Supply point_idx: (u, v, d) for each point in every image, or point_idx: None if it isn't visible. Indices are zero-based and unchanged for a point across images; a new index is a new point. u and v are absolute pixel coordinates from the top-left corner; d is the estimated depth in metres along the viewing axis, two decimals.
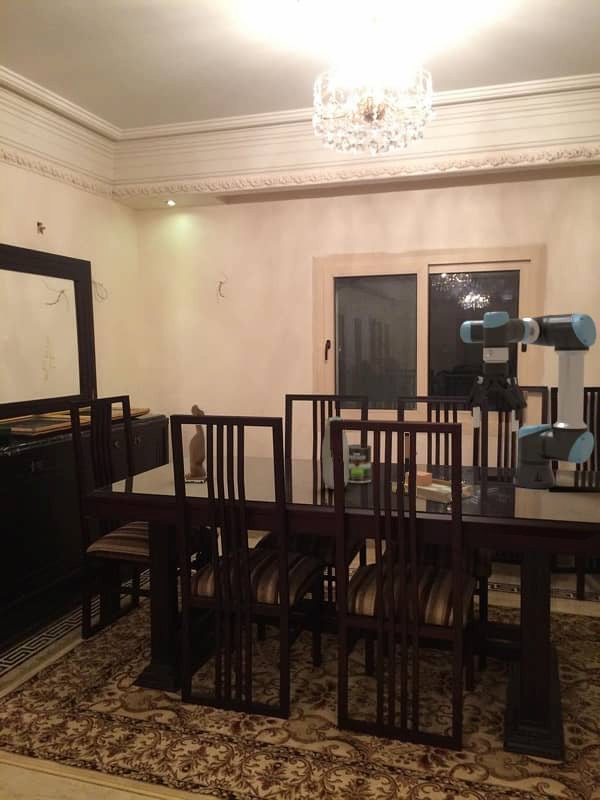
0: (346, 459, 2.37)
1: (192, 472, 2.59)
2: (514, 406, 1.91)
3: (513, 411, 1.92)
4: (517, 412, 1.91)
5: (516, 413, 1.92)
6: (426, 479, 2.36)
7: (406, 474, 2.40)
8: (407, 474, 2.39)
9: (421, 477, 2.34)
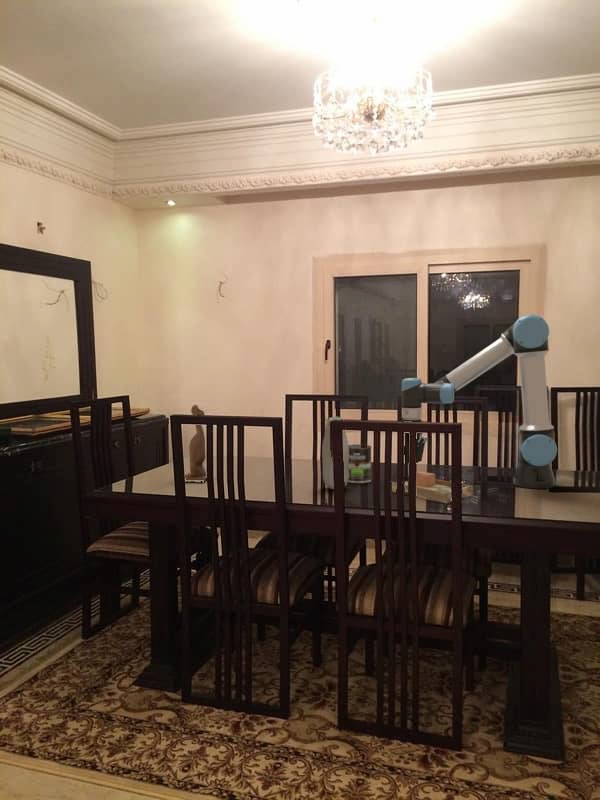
0: (346, 459, 2.37)
1: (192, 472, 2.59)
2: None
3: None
4: None
5: None
6: (429, 480, 2.35)
7: None
8: None
9: (424, 477, 2.33)
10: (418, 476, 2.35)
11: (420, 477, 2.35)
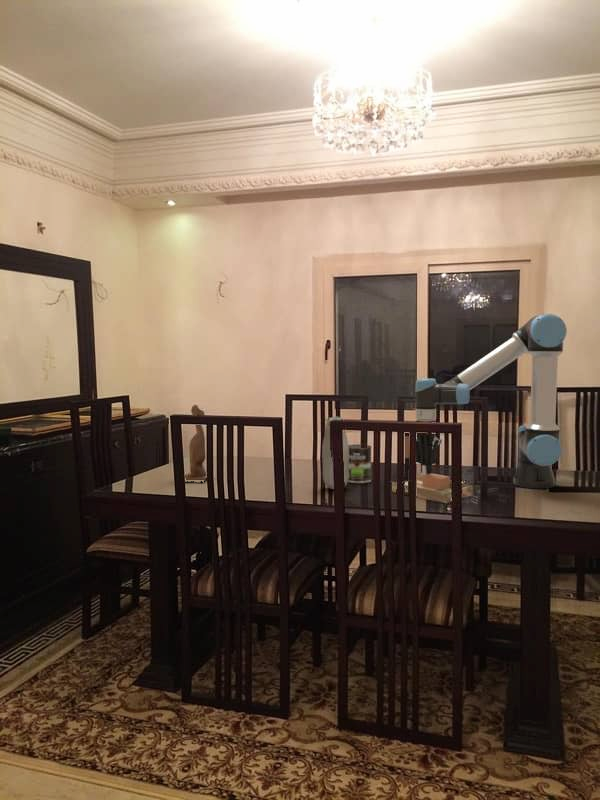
0: (346, 459, 2.37)
1: (192, 472, 2.59)
2: (426, 462, 2.34)
3: (424, 466, 2.35)
4: (428, 467, 2.35)
5: (427, 468, 2.35)
6: (444, 482, 2.30)
7: (423, 477, 2.33)
8: (424, 477, 2.33)
9: (439, 480, 2.28)
10: (432, 479, 2.30)
11: (435, 480, 2.30)
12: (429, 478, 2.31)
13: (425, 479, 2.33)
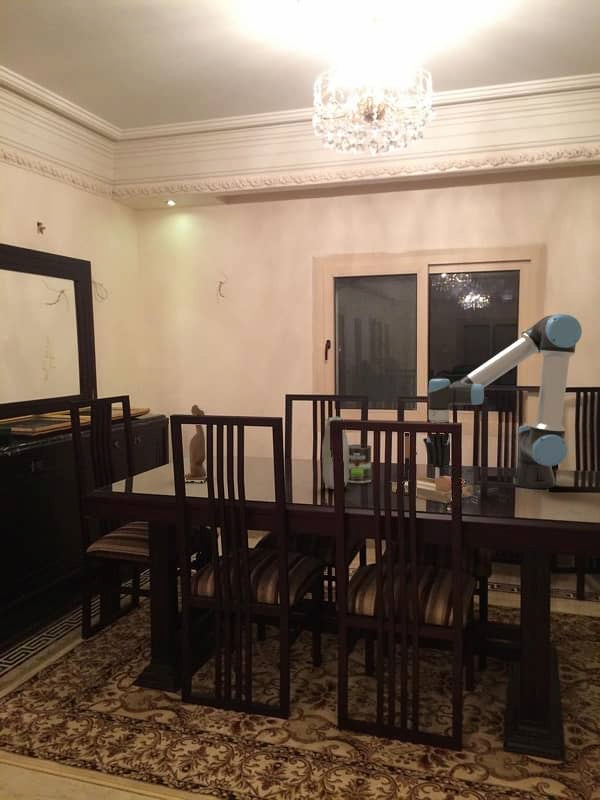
0: (346, 459, 2.37)
1: (192, 472, 2.59)
2: (439, 464, 2.30)
3: (438, 468, 2.30)
4: (441, 469, 2.30)
5: (440, 470, 2.30)
6: None
7: (436, 480, 2.29)
8: (437, 480, 2.29)
9: None
10: (446, 481, 2.26)
11: (448, 482, 2.25)
12: (443, 481, 2.27)
13: (438, 481, 2.28)
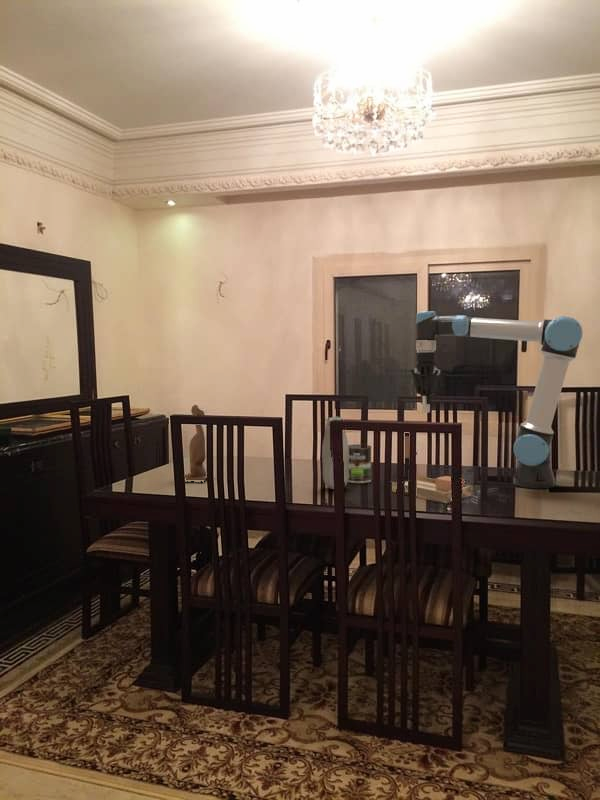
0: (346, 459, 2.37)
1: (192, 472, 2.59)
2: (426, 392, 2.42)
3: (425, 397, 2.42)
4: (428, 397, 2.42)
5: (427, 398, 2.42)
6: None
7: (436, 480, 2.29)
8: (437, 480, 2.29)
9: None
10: (446, 481, 2.26)
11: (448, 482, 2.25)
12: (443, 481, 2.27)
13: (438, 482, 2.28)
